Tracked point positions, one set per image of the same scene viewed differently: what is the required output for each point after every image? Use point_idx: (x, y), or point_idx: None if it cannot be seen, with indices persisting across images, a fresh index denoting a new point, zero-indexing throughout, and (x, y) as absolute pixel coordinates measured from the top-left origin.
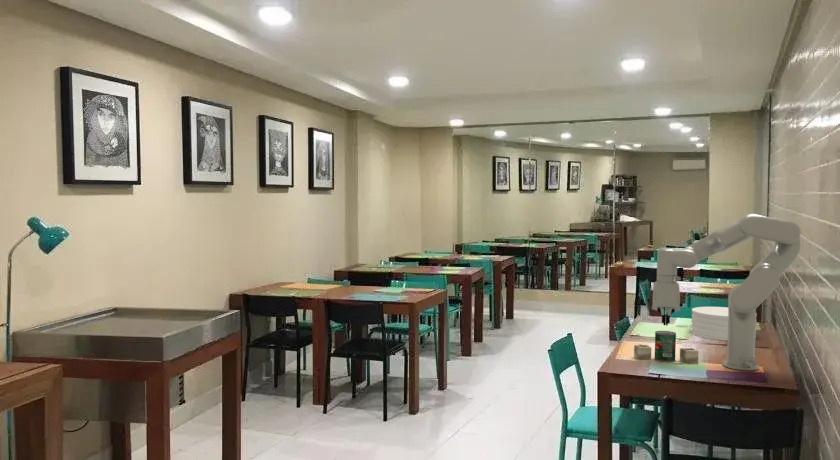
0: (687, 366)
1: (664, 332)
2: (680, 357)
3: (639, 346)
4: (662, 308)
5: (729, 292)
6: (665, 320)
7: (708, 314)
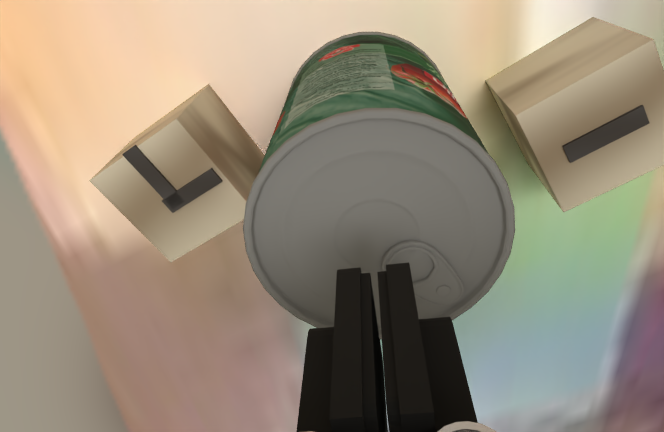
0: (528, 242)
1: (358, 200)
2: (496, 98)
3: (154, 220)
4: None
5: None
6: (386, 429)
7: None
